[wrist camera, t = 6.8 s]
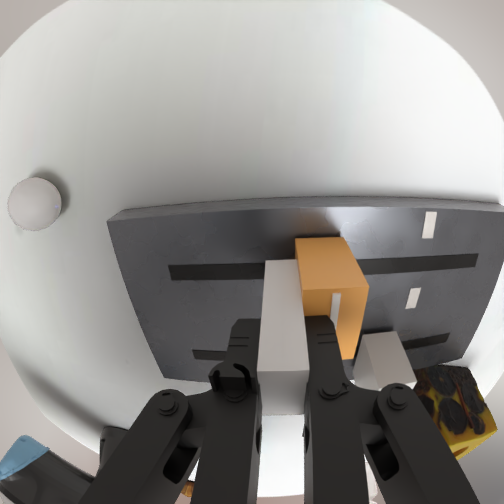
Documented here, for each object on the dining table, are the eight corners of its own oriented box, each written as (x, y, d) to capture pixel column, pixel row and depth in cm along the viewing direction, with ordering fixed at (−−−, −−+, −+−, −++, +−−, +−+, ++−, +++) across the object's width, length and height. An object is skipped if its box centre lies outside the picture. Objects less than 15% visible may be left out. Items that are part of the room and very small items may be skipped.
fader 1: (294, 302, 15) (299, 364, 11) (295, 238, 13) (302, 291, 9) (337, 300, 15) (353, 360, 11) (343, 236, 13) (369, 287, 9)
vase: (320, 474, 37) (321, 524, 27) (353, 461, 34) (358, 517, 23) (350, 475, 39) (353, 521, 28) (382, 462, 35) (388, 511, 24)
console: (170, 361, 22) (164, 378, 20) (122, 210, 16) (105, 221, 14) (453, 344, 19) (461, 358, 18) (499, 203, 13) (515, 213, 11)
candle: (362, 414, 25) (374, 488, 16) (418, 359, 21) (450, 446, 12) (419, 414, 26) (435, 474, 17) (470, 365, 21) (499, 430, 12)
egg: (77, 222, 17) (45, 245, 13) (30, 215, 17) (0, 234, 13) (74, 172, 15) (37, 187, 12) (26, 171, 15) (-8, 185, 12)
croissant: (217, 483, 46) (214, 500, 41) (218, 488, 49) (215, 503, 44) (163, 472, 46) (159, 488, 42) (167, 478, 49) (164, 492, 45)
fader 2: (352, 371, 18) (362, 422, 14) (362, 334, 16) (379, 390, 12) (382, 367, 18) (396, 416, 14) (395, 331, 16) (417, 382, 12)
